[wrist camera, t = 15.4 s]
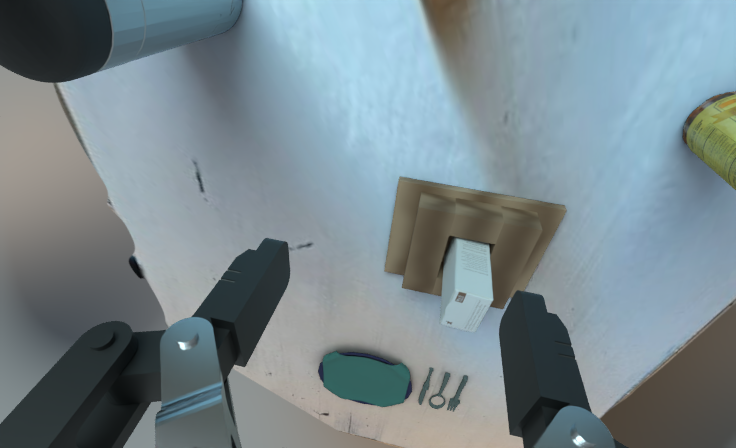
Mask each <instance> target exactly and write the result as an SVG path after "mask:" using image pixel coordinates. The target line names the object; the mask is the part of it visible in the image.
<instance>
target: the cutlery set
mask: <svg viewBox="0 0 736 448" xmlns="http://www.w3.org/2000/svg"><path fill="white" fill-rule="evenodd" d="M432 371H433V368H430V372H429V375H428V378H427V380H426V382H425V383H424V385H423V389H422V391H421V393H420V397H419V404H420V405H421V404H422V401H423V398H424V395H425V392H426V390H428V387H429V380H430V376H431V373H432ZM318 373H319V376H320V379H321V380H322V381H323V383H324V387H325V388H327V389H328V390H329V391H331V392H332V393H333V394H335V395H337V396H338V397H340V398H342V399H349V400H352V401H356V402H359V403H363V404H370V405H377V406H380V407H387V406H392V405H396V404H400V403H404V400H405V399H407V398H408V397H409V395H410V393H411V392H412V385H411V381H410V372H409V370H408V368H407V367H406V366H405V365H404V364H403V363H400V364H398V365H394V364H392V363H390V362H388V361H387V360H385V359H383V358H379V357H376V356H373V355H369V354H363V353H355V352H348V353H337V351H335V352H333V353H329V354H326V355H325V356H324V358H323V361H322V362H321V363H320V366H319V370H318ZM449 377H450V374H449V373H446V374H445V377H444V380H443V383H442V386H441V389H440V392H439V394H437V395H434V396H432V397H435V396H439V397H442V396H441V393H442V392H443V390H444V388H445V386H446V384H447V382H448V380H449ZM467 380H468V378H467V376H464V377H463V379H462V382H461V383H460V386H459V388H458V390H457V393H456V395H455V397H454V398H450V401H449V405H448V408H447V410H449V408H450V406H451V408H450V411H451V410H452V408H453V407H454V408H453V411H454V410H455V408H456V407H457V406H458V405H459V404H460V400H458V398H459V396H460V393H461V391H462V389H463V388H464V386H465V384H466V382H467ZM432 397H431V398H432ZM431 398H430V400H429V405H430V406H431V407H432V408H435V409H439V408H442V407H443V406H444V405H445V399H444V398H443V397H442V398H443V399H444V402H443V403H442V404H441V405H438V406H437V405H434V404H433V403H432V402H431Z"/></svg>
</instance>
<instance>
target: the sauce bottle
mask: <svg viewBox="0 0 736 448" xmlns="http://www.w3.org/2000/svg"><path fill="white" fill-rule="evenodd" d="M683 139H684V142H685V143H686V144H688V146H689V148H690V150H691V151H692V152H693V153H695V154H696V155H697V156H698V157H699V158H700V159H701V160H702V161H704V162H705V163H706V164H707V165H708V166H709V167H710V168H711V169H713V170H714V171H715V172H716V173H717V174H718V175H719V176H720V177H721V178H723V179H724V180H725V181H726V182H727V183H728V184H729V185H730V186H732V187H733V188H734V189H735V190H736V91H735V92H729V93H724V94H720V95H717V96H713V97H712V98H710V99H708V100H706V101H705V102H704V103H703V104H702V105H700V106H699V107H697V108H696V109H695V110H694V111H693V112H692V113H691V114H690V115H689V117H688V118H687V120H686V123H685V125H684V129H683Z"/></svg>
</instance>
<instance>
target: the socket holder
mask: <svg viewBox="0 0 736 448" xmlns="http://www.w3.org/2000/svg"><path fill="white" fill-rule="evenodd" d="M566 211H567V210H566V207H565V206H564V205H558V204H553V203H547V202H541V201H536V200H530V199H524V198H518V197H513V196H507V195H501V194H496V193H490V192H484V191H479V190H473V189H467V188H462V187H456V186H450V185H445V184H439V183H433V182H428V181H422V180H416V179H411V178H405V177H400V178H399V182H398V188H397V195H396V201H395V207H394V214H393V220H392V226H391V233H390V239H389V245H388V252H387V258H386V264H385V270H384V271H385V272H390V273H395V274H400V275H404V279H403V284H402V288H405V289H409V290H414V291H419V292H424V293H428V294H433V295H438V296H441V295H442V281H443V267H444V256H445V254H446V251H447V249H448V246H449V244H450V241H451V239H452V237H453V236H454V237H459V238H465V239H470V240H475V241H480V242H485V243H489V247H490V260H491V273H492V289H493V301H492V303H491V305H490V307H495V308H499V309H503V308H504V306H505V304H506V302H507V300H508V298H509V297H511V298H512V297H513V295H514V294H515V292H516V291H517V290H520V291H524V290H525V288H526V286H527V284H528V282H529V280H530V278H531V276H532V275H533V273H534V271H535V269H536V267H537V265H538V263H539V261H540V260H541V258H542V256H543V254H544V252H545V250H546V248H547V246H548V245H549V243H550V241H551V239H552V237H553V235H554V233H555V231H556V230H557V228H558V226H559V224H560V222H561V220H562V218H563V217H564V215H565V213H566Z"/></svg>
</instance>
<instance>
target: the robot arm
mask: <svg viewBox="0 0 736 448" xmlns="http://www.w3.org/2000/svg"><path fill="white" fill-rule="evenodd" d="M241 7H242V0H0V65H1V66H3V67H5V68H6V69H8V70H10V71H12V72H14V73H16V74H19V75H21V76H23V77H26V78H29V79H32V80H36V81H40V82H51V83H58V82H66V81H71V80H74V79H78V78H81V77H84V76H87V75H90V74H93V73H96V72H99V71H103V70H106V69H109V68H112V67H115V66H119V65H122V64H125V63H127V62H131V61H134V60H137V59H140V58H143V57H147V56H150V55H153V54H156V53H159V52H163V51H166V50H169V49H172V48H176V47H179V46H182V45H185V44H188V43H192V42H195V41H198V40H202V39H205V38H208V37H211V36H214V35H218V34H221V33H223V32H225V31H227V30H229V29H230V28H231V27H232V26H233V25H234V24H235V22H236V21H237V19H238V17H239V14H240V12H241ZM289 278H290V263H289V250H288V243H287V242H284V241H279V240H274V239H269V238H265V239H264V240H263V241H262V243H261V244H260V246H259V247H258V249H257V250H256V251H255V250H251V249H248V250H247V251H245V252H244V253H242V254H241V255H239V256H238V257H236V258H235V260H234V261H233V263H232V264H231V265H230V267H229V268H228V271H226V272H225V273H224V275H223V276H222V277H221V280H219V281H218V283H217V284H216V285H215V287H214V288H213V289H212V291H211V292H210V293H209V295H208V296H207V297H206V299H205V300H204V302H203V303H202V304H201V306H200V307H199V308H198V310H197V311H196V312H195V313H194V315H193V316H192V317H190V318H185V319H182V320H180V321H178V322H176V323H174V324H173V325H172V326H170V327H169V328H168V329H167V330H162V331H147V332H133V331H132V329H131V328H130V326H129V325H128V324H126V323H124V322H120V321H111V322H106V323H102V324H100V325H97V326H95V327H93V328H91V329H90V330H88V331H87V332H86V333H84V334H83V335H82V336H81V337H80V338H79V339H78V340H77V341H76V342H75V343H74V345H73V346H72V347H71V348H70V349H69V350H68V351H67V352H66V353H65V354H64V356H62V358H61V359H60V360H59V361H58V362H57V363H56V364H55V365H54V366H53V367H52V368H51V370H50V371H49V372H48V373H47V374H46V375H45V376H44V377H43V378H42V379H41V380H40V382H39V383H38V384H37V385H36V386H35V387H34V388H33V389H32V390H31V391H30V392H29V394H27V396H26V397H25V398H24V399H23V400H22V401H21V402H20V403H19V404H18V405H17V406H16V407H15V409H14V410H13V411H12V412H11V413H10V414H9V415H8V416H7V417H6V418H5V419H4V421H3V422H2V423H1V424H0V448H123V446H124V445H125V443H126V442H127V440H128V438H129V437H130V435H131V434H132V432H133V430H134V429H135V427H136V426H137V424H138V423H139V421H140V419H141V418H142V416H143V414H144V413H145V411H146V410H147V408H148V407H149V405H150V403H151V402H156V401H161V402H162V405H161V411H159V412H158V413H157V414H156V419H155V448H242V447H241V442H240V438H239V434H238V430H237V424H236V418H235V412H234V406H233V401H232V395H231V389H230V384H229V378H228V375H229V373H230V371H231V369H232V368H233V366H234V365H238V366H242V367H245V366H246V364H247V362H248V361H249V359H250V357H251V355H252V353H253V351H254V349H255V347H256V345H257V343H258V341H259V339H260V338H261V336H262V334H263V332H264V330H265V328H266V326H267V324H268V322H269V320H270V318H271V317H272V315H273V313H274V311H275V309H276V307H277V305H278V303H279V301H280V299H281V297H282V295H283V294H284V292H285V290H286V288H287V285H288V282H289ZM499 338H500V347H501V357H502V366H503V375H504V384H505V394H506V403H507V412H508V421H509V431H510V435H514V436H518V437H522V438H523V444H524V448H628V447H626V446H624V445H623V444H621V443H619V442H618V441H616V440H615V439H613V438H612V436H611V434H610V432H609V430H608V429H607V427H606V426H605V425H604V424H603V422H602V421H601V420H600V419H599V418H598V417H596V416H595V415H594V414H592V412H591V409H590V406H589V403H588V399H587V396H586V392H585V389H584V385H583V382H582V379H581V375H580V372H579V368H578V365H577V362H576V360H575V355H574V351H573V348H572V347H571V341H570V338H569V334H568V331H567V328H566V327H565V326H564V324H563V323H562V321H561V320H560V319H559V317H558V316H557V315H556V314H552V313H547V309H546V305H545V301H544V298H543V296H542V295H539V294H534V293H529V292H524V291H520V290H517V291H516V292H515V294H514V295H513V297H512V299H511V301H510V303H509V305H508V307H507V309H506V311H505V313H504V315H503V317H502V319H501V323H500V328H499Z"/></svg>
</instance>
